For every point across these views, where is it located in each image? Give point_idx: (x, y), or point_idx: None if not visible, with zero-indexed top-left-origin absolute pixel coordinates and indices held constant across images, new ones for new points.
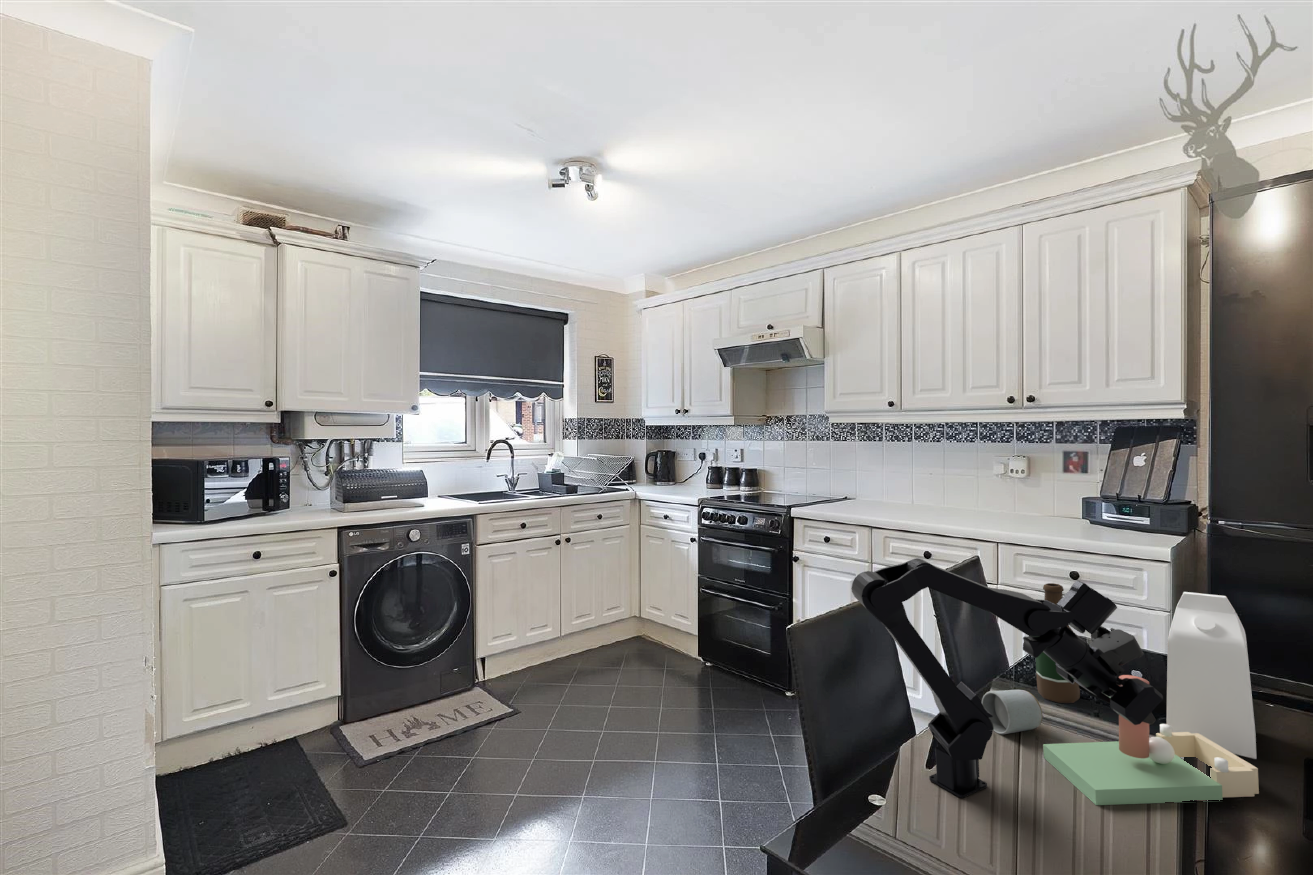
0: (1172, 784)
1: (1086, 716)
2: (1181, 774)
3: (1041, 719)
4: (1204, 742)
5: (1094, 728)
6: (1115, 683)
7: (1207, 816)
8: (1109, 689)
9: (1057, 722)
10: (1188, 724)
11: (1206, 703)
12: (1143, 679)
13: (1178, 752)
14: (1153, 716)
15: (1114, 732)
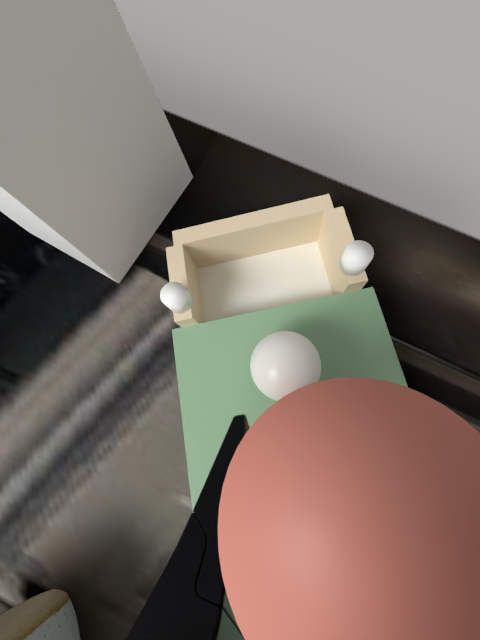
0: None
1: (13, 403)
2: (339, 347)
3: (59, 608)
4: (212, 238)
5: (70, 412)
6: (225, 606)
7: (437, 357)
8: (240, 632)
9: (33, 494)
10: (118, 230)
11: (101, 155)
12: (322, 405)
13: (198, 294)
14: None
15: (91, 375)
